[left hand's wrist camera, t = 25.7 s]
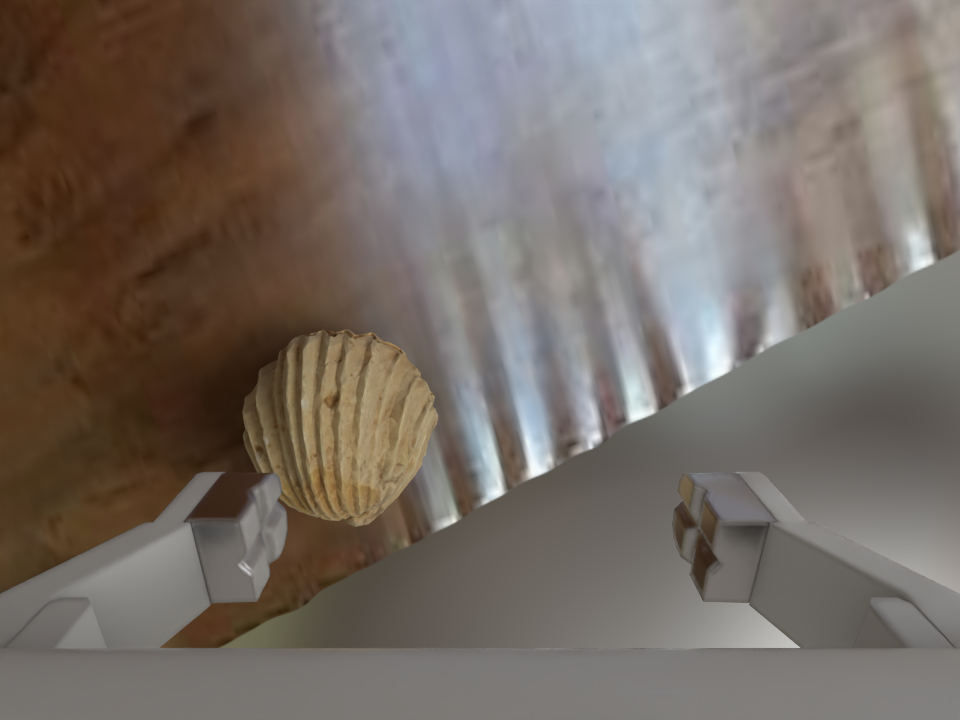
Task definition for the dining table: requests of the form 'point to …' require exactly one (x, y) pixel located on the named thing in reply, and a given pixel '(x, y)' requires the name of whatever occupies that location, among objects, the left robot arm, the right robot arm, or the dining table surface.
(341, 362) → the fossil
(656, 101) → the dining table surface
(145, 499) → the dining table surface
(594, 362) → the dining table surface
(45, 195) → the dining table surface
